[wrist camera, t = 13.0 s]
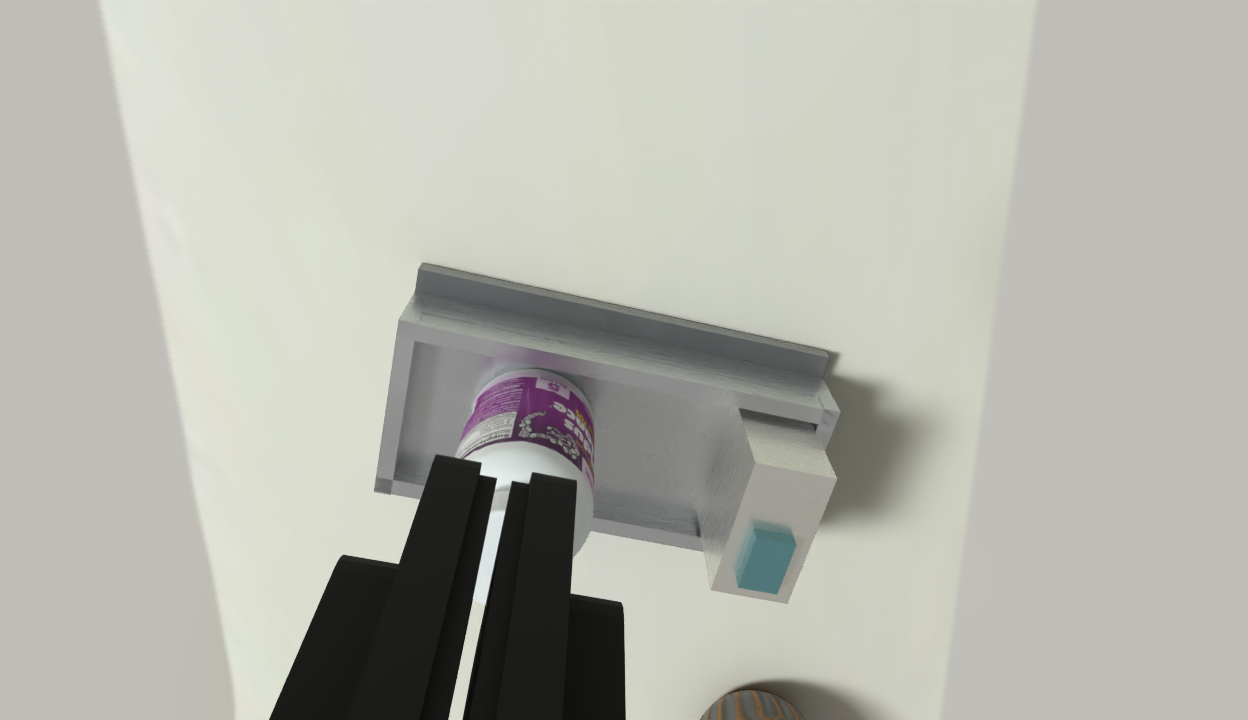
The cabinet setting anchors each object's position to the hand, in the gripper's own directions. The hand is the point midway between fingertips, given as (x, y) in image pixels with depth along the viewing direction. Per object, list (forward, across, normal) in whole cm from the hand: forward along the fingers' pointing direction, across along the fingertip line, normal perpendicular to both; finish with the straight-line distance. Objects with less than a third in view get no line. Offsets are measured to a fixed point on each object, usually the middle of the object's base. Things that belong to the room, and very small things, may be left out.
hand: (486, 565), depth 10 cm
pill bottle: (+23, -1, +12) cm, 26 cm away
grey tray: (+26, -4, +12) cm, 29 cm away
